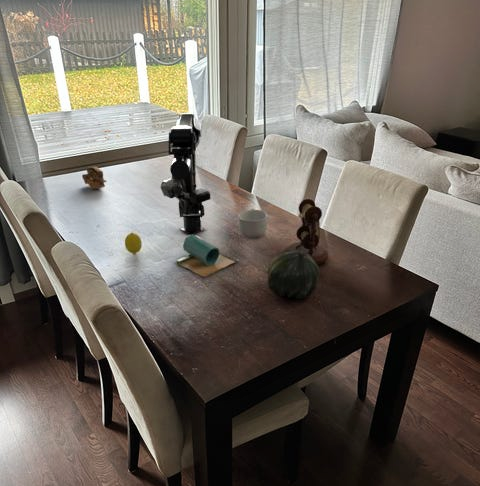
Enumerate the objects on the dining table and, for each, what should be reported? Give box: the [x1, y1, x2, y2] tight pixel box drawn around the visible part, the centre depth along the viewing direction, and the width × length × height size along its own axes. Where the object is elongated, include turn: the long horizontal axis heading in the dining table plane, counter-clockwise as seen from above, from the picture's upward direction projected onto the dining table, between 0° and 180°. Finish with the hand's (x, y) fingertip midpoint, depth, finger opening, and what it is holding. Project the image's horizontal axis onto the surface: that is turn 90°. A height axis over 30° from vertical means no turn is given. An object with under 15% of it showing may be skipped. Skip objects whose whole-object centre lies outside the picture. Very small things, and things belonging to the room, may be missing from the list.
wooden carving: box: [81, 166, 107, 190], centre depth 205 cm, size 16×5×10 cm, turn 55°
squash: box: [267, 251, 320, 300], centre depth 126 cm, size 14×15×15 cm
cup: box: [182, 234, 221, 266], centre depth 144 cm, size 6×6×11 cm
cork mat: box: [176, 254, 236, 278], centre depth 144 cm, size 13×14×1 cm
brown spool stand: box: [283, 198, 329, 265], centre depth 143 cm, size 15×15×20 cm
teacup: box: [237, 207, 269, 238], centre depth 164 cm, size 14×11×8 cm
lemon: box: [124, 232, 143, 255], centre depth 148 cm, size 6×6×8 cm
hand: (186, 214), depth 147 cm, fingers closed
